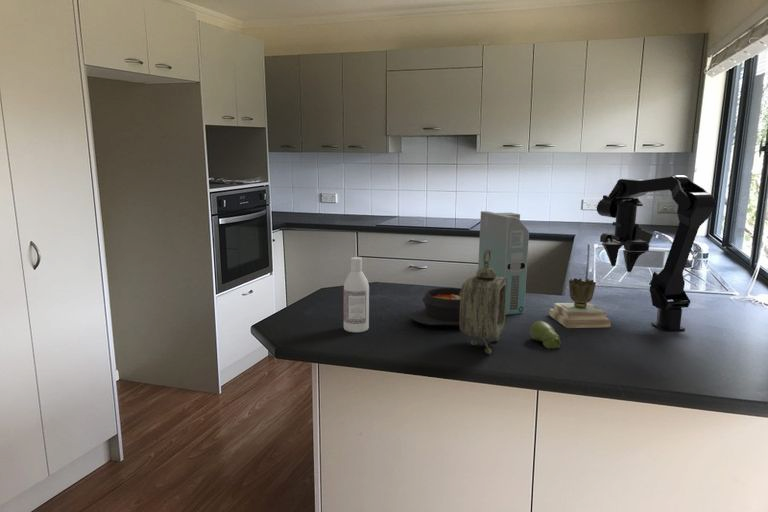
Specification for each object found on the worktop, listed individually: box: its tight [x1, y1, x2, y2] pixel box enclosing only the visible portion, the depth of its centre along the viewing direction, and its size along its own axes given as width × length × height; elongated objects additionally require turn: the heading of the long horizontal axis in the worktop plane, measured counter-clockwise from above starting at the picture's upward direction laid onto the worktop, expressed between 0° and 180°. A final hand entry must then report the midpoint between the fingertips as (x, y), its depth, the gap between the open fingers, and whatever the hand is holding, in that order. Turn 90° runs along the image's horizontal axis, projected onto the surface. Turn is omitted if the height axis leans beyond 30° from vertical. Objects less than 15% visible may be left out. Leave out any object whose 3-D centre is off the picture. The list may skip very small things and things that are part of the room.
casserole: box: [409, 287, 461, 328], centre depth 165 cm, size 25×19×8 cm
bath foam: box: [343, 256, 370, 333], centre depth 156 cm, size 7×7×20 cm
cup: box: [568, 277, 597, 308], centre depth 167 cm, size 8×7×8 cm
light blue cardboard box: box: [477, 210, 530, 316], centre depth 179 cm, size 16×8×30 cm, turn 19°
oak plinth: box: [548, 302, 612, 329], centre depth 168 cm, size 13×13×4 cm
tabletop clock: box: [458, 249, 507, 355], centre depth 143 cm, size 14×9×25 cm, turn 158°
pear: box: [529, 320, 562, 350], centre depth 148 cm, size 6×5×10 cm
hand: (621, 269), depth 179 cm, fingers open, 9 cm apart
